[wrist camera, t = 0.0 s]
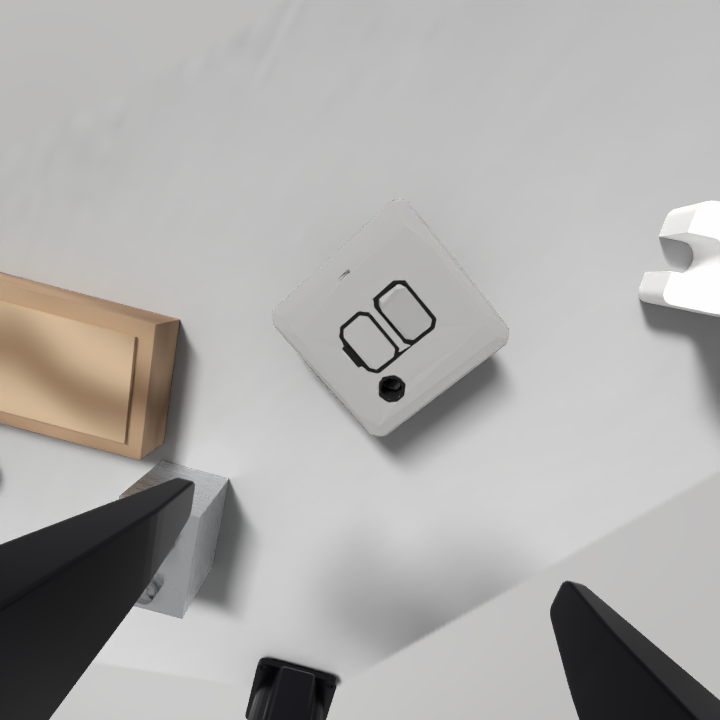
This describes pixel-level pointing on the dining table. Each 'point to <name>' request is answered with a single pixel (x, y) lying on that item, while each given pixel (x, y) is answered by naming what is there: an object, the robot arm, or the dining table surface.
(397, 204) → the electrical switch
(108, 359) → the tan shallow rectangular tray
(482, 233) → the dining table surface
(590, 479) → the dining table surface
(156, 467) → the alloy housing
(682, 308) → the cable organizer
